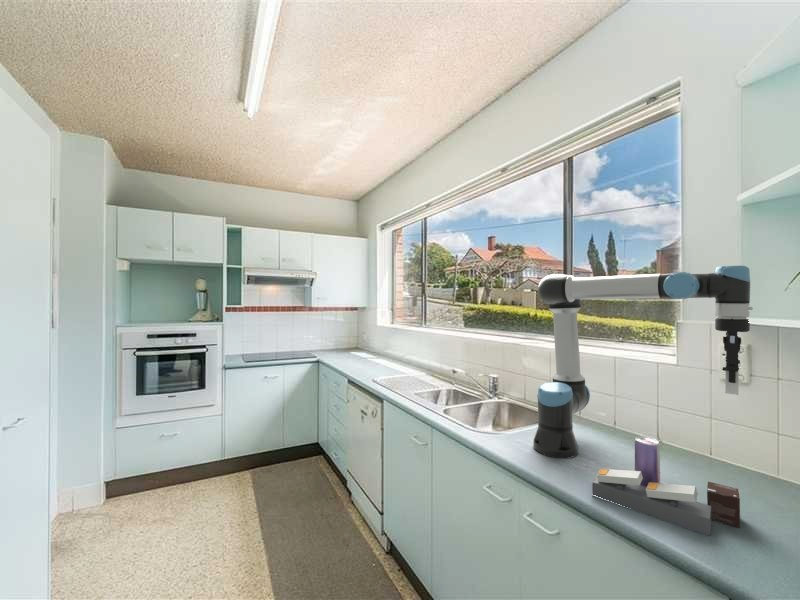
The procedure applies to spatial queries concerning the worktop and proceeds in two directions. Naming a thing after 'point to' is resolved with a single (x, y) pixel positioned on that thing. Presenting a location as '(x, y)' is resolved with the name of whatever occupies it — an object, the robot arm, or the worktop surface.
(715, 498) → the box
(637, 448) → the beverage can
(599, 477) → the block
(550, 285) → the robot arm
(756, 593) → the worktop surface
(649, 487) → the rocker right
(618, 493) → the switch panel
